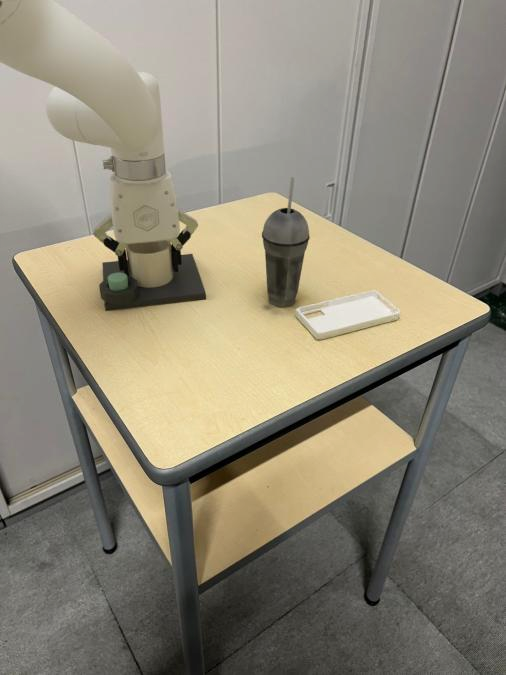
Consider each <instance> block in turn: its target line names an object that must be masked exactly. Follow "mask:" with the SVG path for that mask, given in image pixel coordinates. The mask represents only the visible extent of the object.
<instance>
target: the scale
mask: <svg viewBox="0 0 506 675" xmlns="http://www.w3.org/2000/svg"><path fill="white" fill-rule="evenodd" d="M181 261H182V265H178V271H179V272H174V269H173V279H172V280H171V281H170V282H169V283H167V284H165V285H163V286H159V287H153V288H146V287H140V286H138V283H137V280H136V279H134V278H133V277H130V274H129V276H127V279H128V288H126V289H124V290H118V291H114V290H110V289H109V284H108V276H109V275H111V274H113V273H124V271H120V269H119V263H118V260H113V261H103V262H102V281H101V282H100V283H99V285H98V288H99V294H100V299H101V300H102V301H103V302H104V303H103V304H104V305H103V306H104V310H105V312H107V311H117V310H123V309H124V310H125V309H132V308H140V307H150V306H158V305H166V304H175V303H184V302H193V301H200V300H201V301H202V300H207V292H206V289H205V286H204V284H203V281H202V278H201V275H200V272H199V269H198V266H197V263H196V261H195V256H194V254H193V253H184V254H181ZM127 262H128V259H127ZM128 270H129V266H128ZM124 274H125V273H124Z"/></svg>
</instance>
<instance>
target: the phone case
mask: <svg viewBox="0 0 506 675" xmlns="http://www.w3.org/2000/svg"><path fill="white" fill-rule="evenodd" d="M381 299H382V300H383V301H382V300H381ZM385 302H386V303H387V304H386V303H385ZM389 305H390V307H389ZM391 307H392V308H393V309H394V310H393V309H392V308H391ZM317 312H321V313H322V314H321V315H318V316H313V317H310V318H307V317H306V316H305V315H309V314H313V313H317ZM401 312H402V311H401V310H400V309H399V307H397V306H395V305H394V304H393V303H392V302H391V301H390V300H388V299H387V298H386V297H385V296H384V295H383V294H381V293H380V292H379V291H377V290H375V289H374V290H367V291H363V292H359V293H355V294H349V295H346V296H341V297H338V298H337V297H336V298H331V299H329V300H324V301H320V302H316V303H312V304H308V305H302V306H299V307H297V308H296V309H295V317H296V318H297V320H299V321H300V323H301V324H302V326H304V327H305V328H306V329H307V330H308V332H309V333H310V334H311V335H312V337H314V338H315V339H316V340H325V339H329V338H333V337H336V336H341V335H345V334H348V333H352V332H356V331H360V330H364V329H368V328H371V327H375V326H378V325H383V324H386V323H390V322H393V321H397V320H399V319H400V316H401Z"/></svg>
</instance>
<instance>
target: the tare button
mask: <svg viewBox="0 0 506 675" xmlns="http://www.w3.org/2000/svg"><path fill="white" fill-rule="evenodd" d="M108 284H109V289H110V290H114V291H118V290H124V289H126V288H128V279H127V275H126V274H124V273H113V274H111V275H109V276H108Z"/></svg>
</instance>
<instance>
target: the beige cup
mask: <svg viewBox="0 0 506 675" xmlns="http://www.w3.org/2000/svg"><path fill="white" fill-rule="evenodd" d="M171 245H172V243H171V242H170V241H169V240H167V241H158V242H147V243H136V244H127V246H126V248H125V249H126V255H127V260H128V266H129V274H130V277H133V278H134V279H136V280H137V283H138V286H140V287H146V288H153V287H159V286H163V285H165V284H167V283H169V282H170V281H171V280H172V279H173V262H172V249H171Z"/></svg>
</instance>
